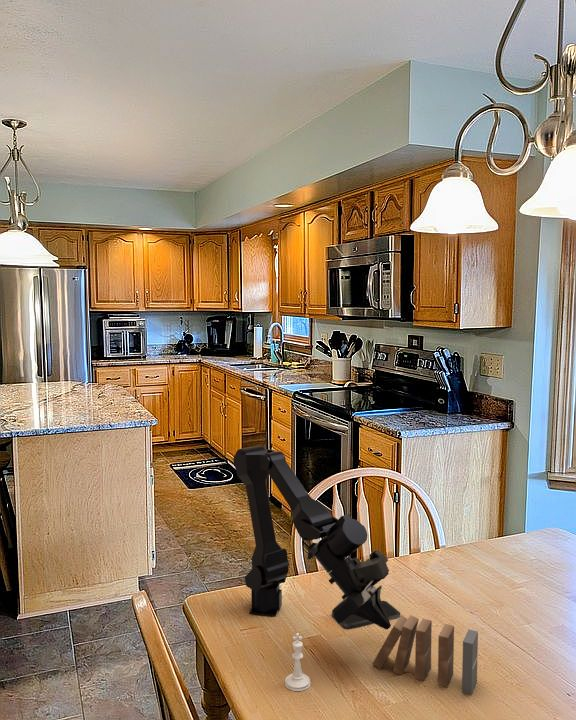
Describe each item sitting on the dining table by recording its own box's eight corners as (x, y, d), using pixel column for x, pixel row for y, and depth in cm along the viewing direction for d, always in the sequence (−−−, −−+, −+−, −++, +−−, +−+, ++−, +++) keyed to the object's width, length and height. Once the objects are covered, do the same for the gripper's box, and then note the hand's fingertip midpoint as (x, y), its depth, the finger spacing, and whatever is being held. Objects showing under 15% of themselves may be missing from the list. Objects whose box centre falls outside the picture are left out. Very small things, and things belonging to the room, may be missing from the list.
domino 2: (392, 671, 123) (402, 626, 121) (400, 658, 127) (410, 614, 125) (401, 675, 122) (411, 630, 120) (408, 662, 126) (419, 618, 124)
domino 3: (414, 679, 121) (415, 629, 120) (421, 666, 125) (422, 618, 124) (424, 681, 120) (425, 632, 119) (431, 668, 124) (431, 620, 123)
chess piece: (284, 676, 121) (283, 627, 121) (308, 675, 122) (308, 626, 121) (286, 692, 117) (285, 641, 116) (311, 690, 117) (311, 640, 116)
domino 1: (372, 663, 125) (393, 625, 122) (380, 651, 129) (401, 614, 126) (380, 669, 124) (401, 631, 121) (388, 657, 128) (409, 620, 125)
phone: (330, 611, 146) (384, 599, 152) (330, 616, 146) (384, 604, 152) (345, 627, 139) (402, 614, 145) (345, 632, 139) (402, 619, 145)
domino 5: (461, 692, 116) (462, 641, 115) (467, 678, 121) (468, 629, 120) (471, 695, 115) (472, 644, 115) (477, 681, 120) (478, 631, 119)
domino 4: (437, 685, 118) (438, 635, 118) (444, 672, 123) (444, 623, 122) (447, 688, 118) (448, 637, 117) (453, 674, 122) (454, 626, 121)
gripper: (346, 559, 118) (402, 628, 114) (379, 528, 134) (429, 588, 130) (309, 590, 122) (362, 658, 118) (346, 557, 139) (393, 615, 134)
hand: (389, 627), depth 125 cm, fingers closed
